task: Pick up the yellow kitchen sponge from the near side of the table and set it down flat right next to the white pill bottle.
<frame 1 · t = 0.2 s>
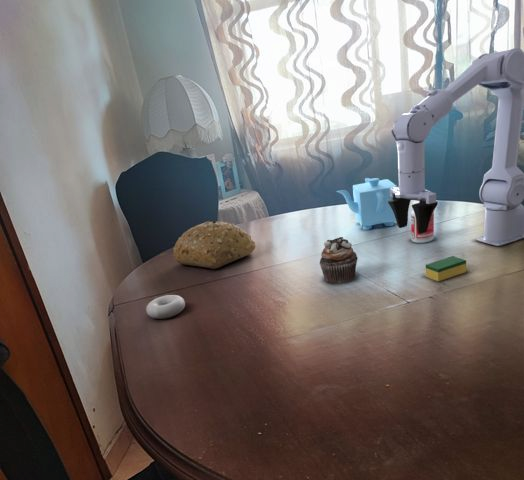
hand: (412, 229, 112), 10 cm above the table, tool pointing down, fingers open, 7 cm apart
bread: (216, 259, 153), on the table
pill bottle: (422, 240, 135), on the table
donut: (167, 313, 119), on the table
teakettle: (375, 223, 158), on the table
cupcake: (340, 278, 120), on the table
sponge: (445, 274, 110), on the table
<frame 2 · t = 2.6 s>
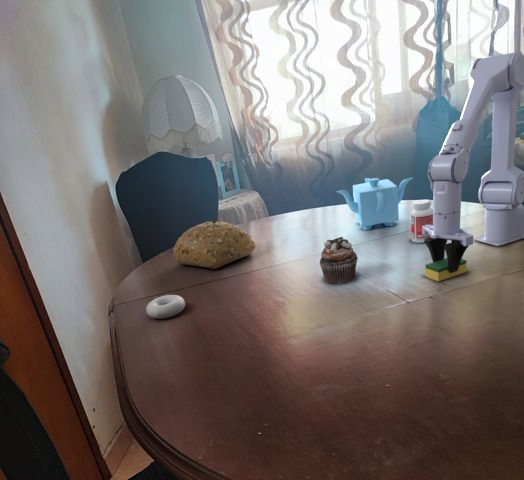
hand: (445, 268, 110), 1 cm above the table, tool pointing down, fingers closed on sponge, 4 cm apart
sponge: (445, 274, 110), on the table, touching gripper
everything else where it was.
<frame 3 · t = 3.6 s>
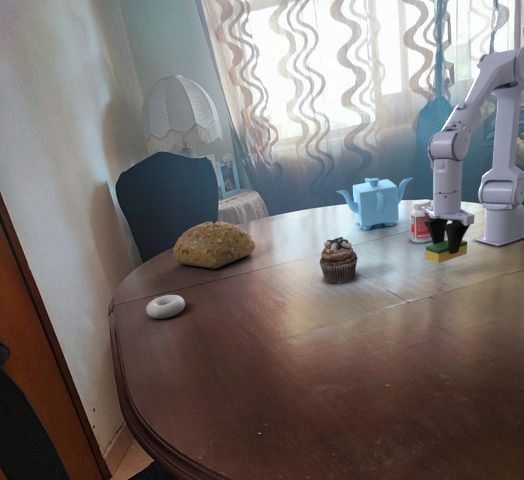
hand: (446, 250, 107), 6 cm above the table, tool pointing down, fingers closed on sponge, 4 cm apart
sponge: (446, 256, 108), point 4 cm above the table, touching gripper
everything else where it was.
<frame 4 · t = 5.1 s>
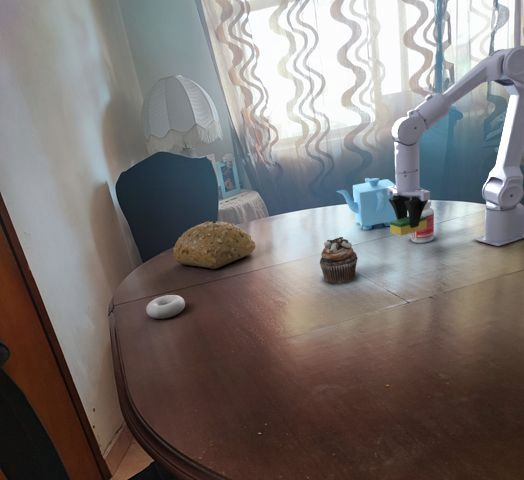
hand: (408, 225, 121), 8 cm above the table, tool pointing down, fingers closed on sponge, 4 cm apart
sponge: (408, 230, 122), point 7 cm above the table, touching gripper
everything else where it was.
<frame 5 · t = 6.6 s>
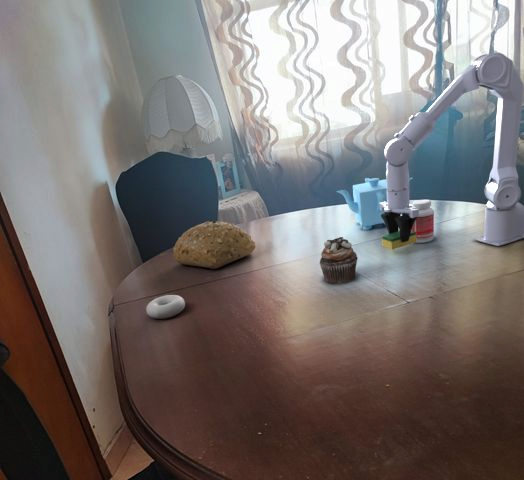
hand: (399, 239, 128), 3 cm above the table, tool pointing down, fingers closed on sponge, 4 cm apart
sponge: (399, 244, 129), point 2 cm above the table, touching gripper
everything else where it was.
when the fingers open (1 cm above the table, at t = 7.7 s): sponge stays where it is, on the table.
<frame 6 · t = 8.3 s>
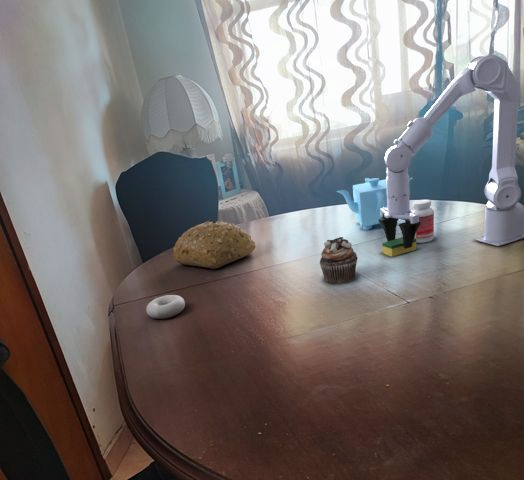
hand: (399, 244, 129), 2 cm above the table, tool pointing down, fingers open, 7 cm apart
sponge: (399, 251, 129), on the table
everything else where it was.
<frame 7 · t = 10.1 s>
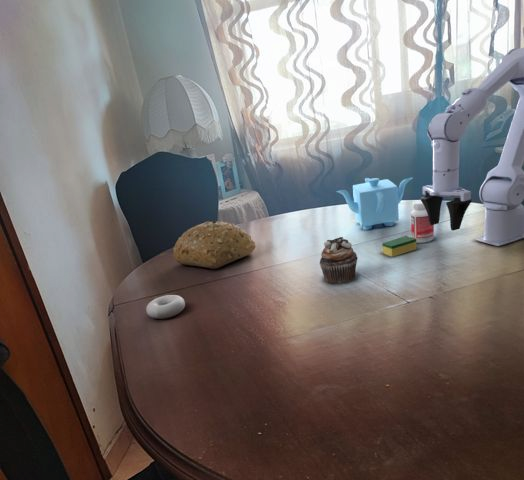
hand: (444, 226, 115), 8 cm above the table, tool pointing down, fingers open, 7 cm apart
nothing on the table moved.
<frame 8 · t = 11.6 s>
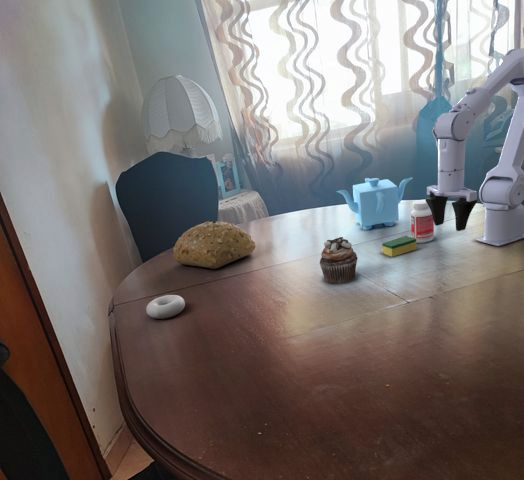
hand: (449, 227, 114), 8 cm above the table, tool pointing down, fingers open, 7 cm apart
nothing on the table moved.
at the end: sponge 10.5 cm from the pill bottle (horizontally); sponge on the table; the gripper is holding nothing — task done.
